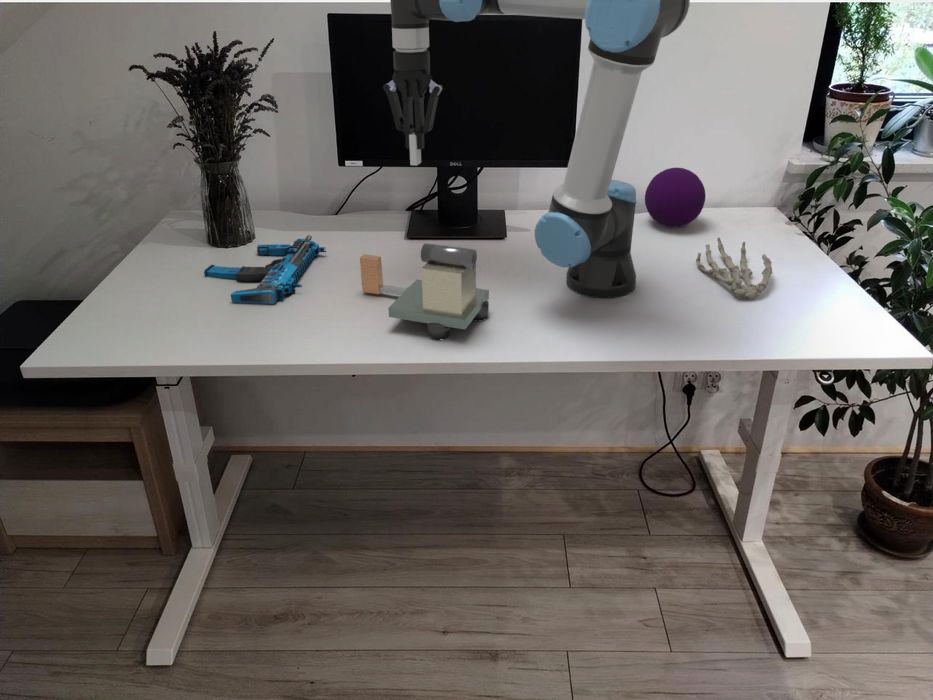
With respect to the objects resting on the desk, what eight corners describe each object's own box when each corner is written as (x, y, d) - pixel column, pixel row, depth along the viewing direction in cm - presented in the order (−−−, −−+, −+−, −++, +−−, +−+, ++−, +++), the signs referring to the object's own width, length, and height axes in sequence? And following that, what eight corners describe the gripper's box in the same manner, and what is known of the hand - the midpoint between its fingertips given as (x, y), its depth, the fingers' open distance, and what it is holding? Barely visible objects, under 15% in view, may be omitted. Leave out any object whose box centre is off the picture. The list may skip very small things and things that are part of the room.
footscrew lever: (431, 296, 169) (430, 260, 165) (423, 305, 165) (421, 269, 161) (369, 286, 174) (366, 251, 169) (359, 295, 170) (356, 260, 166)
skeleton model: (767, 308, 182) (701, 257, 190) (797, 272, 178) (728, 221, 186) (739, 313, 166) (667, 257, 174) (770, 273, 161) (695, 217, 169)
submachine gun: (237, 231, 198) (334, 229, 194) (240, 245, 199) (336, 244, 196) (179, 291, 168) (292, 289, 165) (183, 306, 170) (295, 306, 167)
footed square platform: (491, 312, 163) (492, 233, 154) (467, 345, 151) (466, 262, 142) (417, 300, 168) (414, 223, 159) (388, 331, 156) (382, 250, 148)
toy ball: (679, 240, 196) (686, 182, 188) (630, 225, 205) (635, 168, 198) (712, 225, 204) (721, 168, 197) (664, 211, 214) (670, 156, 206)
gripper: (447, 48, 164) (449, 161, 174) (389, 46, 167) (394, 157, 178) (434, 52, 157) (437, 170, 168) (374, 50, 161) (381, 165, 172)
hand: (415, 163), depth 173 cm, fingers closed
